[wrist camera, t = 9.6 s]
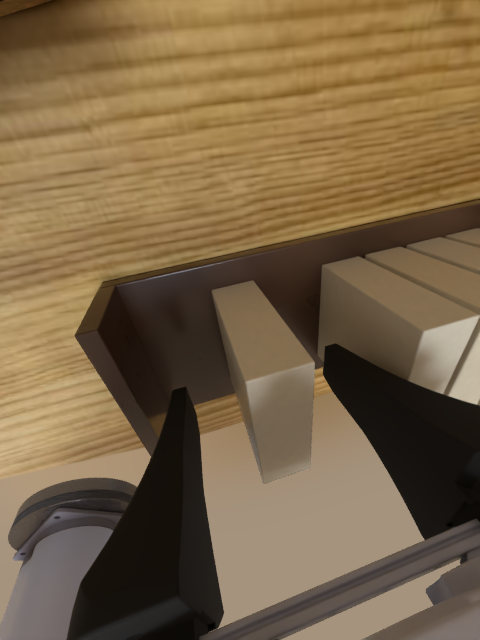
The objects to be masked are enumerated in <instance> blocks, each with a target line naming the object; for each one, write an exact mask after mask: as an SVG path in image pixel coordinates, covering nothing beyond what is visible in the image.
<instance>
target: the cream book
mask: <svg viewBox="0 0 480 640" xmlns="http://www.w3.org/2000/svg"><path fill="white" fill-rule="evenodd" d="M212 296H213V300H214V305H215V309H216V314H217V318H218V323H219V327H220V332H221V336H222V341H223V345H224V350H225V354H226V359H227V363H228V368H229V372H230V377H231V381H232V384H233V387H234V390H235V394H236V397H237V400H238V403H239V407H240V410H241V413H242V416H243V420H244V423H245V426H246V429H247V432H248V435H249V439H250V442H251V445H252V449H253V452H254V455H255V458H256V461H257V465H258V468H259V471H260V475H261V478H262V481H263V483H264V484H266V483H269V482H272V481H275V480H277V479H280V478H283V477H286V476H289V475H292V474H294V473H297V472H300V471H303V470H306V469H308V468H310V465H311V442H312V441H311V440H312V419H313V396H314V372H315V362H314V360H313V359H312V358H311V356H310V355H309V354H308V352H307V351H306V350H305V348H304V347H303V346H302V344H301V343H300V342H299V340H298V339H297V338H296V337H295V335H294V334H293V333H292V331H291V330H290V329H289V327H288V326H287V325H286V323H285V322H284V321H283V319H282V318H281V317H280V315H279V314H278V313H277V311H276V310H275V309H274V307H273V306H272V305H271V303H270V302H269V301H268V299H267V298H266V297H265V295H264V294H263V293H262V291H261V290H260V289H259V287H258V286H257V285H256V283H255V282H254V281H253V280H252V281H248V282H243V283H239V284H235V285H231V286H227V287H222V288H218V289H214V290H212Z"/></svg>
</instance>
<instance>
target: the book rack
mask: <svg viewBox="0 0 480 640" xmlns="http://www.w3.org/2000/svg"><path fill="white" fill-rule="evenodd" d="M475 228H480V200H475V201H471V202H466V203H462V204H457V205H453V206H448V207H444V208H439V209H434V210H430V211H425V212H421V213H416V214H412V215H407V216H403V217H398V218H394V219H389V220H385V221H380V222H375V223H371V224H366V225H362V226H357V227H353V228H348V229H344V230H339V231H335V232H330V233H326V234H321V235H317V236H312V237H307V238H303V239H298V240H294V241H289V242H285V243H280V244H276V245H271V246H267V247H262V248H258V249H253V250H248V251H244V252H239V253H235V254H230V255H226V256H221V257H217V258H212V259H208V260H203V261H199V262H194V263H190V264H185V265H180V266H176V267H171V268H167V269H162V270H158V271H153V272H149V273H144V274H140V275H135V276H131V277H126V278H121V279H117V280H112V281H108V282H103V283H102V284H101V286H100V288H99V289H98V291H97V293H96V295H95V297H94V299H93V301H92V303H91V305H90V307H89V309H88V311H87V312H86V314H85V316H84V318H83V320H82V322H81V324H80V326H79V328H78V330H77V332H76V334H75V338H76V339H77V341H78V342H79V344H80V345H81V347H82V349H83V350H84V352H85V353H86V355H87V356H88V358H89V360H90V361H91V363H92V364H93V366H94V367H95V369H96V371H97V372H98V374H99V375H100V377H101V378H102V380H103V382H104V383H105V385H106V386H107V388H108V389H109V391H110V393H111V394H112V396H113V397H114V399H115V401H116V402H117V404H118V405H119V407H120V408H121V410H122V412H123V413H124V415H125V416H126V418H127V419H128V421H129V423H130V424H131V426H132V427H133V429H134V430H135V432H136V434H137V435H138V437H139V438H140V440H141V441H142V443H143V445H144V446H145V448H146V449H147V451H148V452H149V454H150V456H151V457H152V455H153V452H154V449H155V447H156V444H157V441H158V439H159V436H160V433H161V430H162V427H163V424H164V421H165V418H166V414H167V411H168V407H169V403H170V398H171V393H172V391H173V390H175V389H178V388H182V387H185V386H186V387H187V390H188V393H189V395H190V398H191V401H192V403H193V406H194V405H197V404H200V403H204V402H207V401H211V400H214V399H217V398H221V397H224V396H227V395H231V394H234V393H235V390H234V387H233V384H232V381H231V377H230V372H229V368H228V363H227V359H226V354H225V350H224V345H223V341H222V336H221V332H220V327H219V323H218V318H217V314H216V309H215V305H214V300H213V296H212V290H214V289H218V288H222V287H227V286H231V285H235V284H239V283H243V282H248V281H252V280H253V281H254V282H255V283H256V285H257V286H258V287H259V289H260V290H261V291H262V293H263V294H264V295H265V297H266V298H267V299H268V301H269V302H270V303H271V305H272V306H273V307H274V309H275V310H276V311H277V313H278V314H279V315H280V317H281V318H282V319H283V321H284V322H285V323H286V325H287V326H288V327H289V329H290V330H291V331H292V333H293V334H294V335H295V337H296V338H297V339H298V340H299V342H300V343H301V344H302V346H303V347H304V348H305V350H306V351H307V352H308V354H309V355H310V356H311V358H312V359H313V360H314V362H315V369H318V368H321V367H324V362H323V361H322V360H321V359H320V357H319V356H318V336H319V315H320V295H321V275H322V265H324V264H328V263H333V262H337V261H341V260H345V259H349V258H354V257H358V256H359V257H361V258H363V259H365V255H366V254H370V253H375V252H379V251H383V250H387V249H391V248H396V247H403V248H406V246H407V245H408V244H413V243H417V242H421V241H425V240H429V239H434V238H438V237H441V238H445V236H446V235H450V234H454V233H458V232H463V231H467V230H471V229H475Z"/></svg>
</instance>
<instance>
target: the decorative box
mask: <svg viewBox="0 0 480 640" xmlns="http://www.w3.org/2000/svg"><path fill="white" fill-rule="evenodd" d="M48 1H52V0H0V17H1V16H4V15H7V14H10V13H14V12H17V11H20V10H23V9H26V8H29V7H33V6H36V5H39V4H42V3H45V2H48Z"/></svg>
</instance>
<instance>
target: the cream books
mask: <svg viewBox="0 0 480 640" xmlns="http://www.w3.org/2000/svg"><path fill="white" fill-rule="evenodd" d="M335 343H336V344H338V345H340V346H342V347H344V348H345V349H347V350H349V351H351V352H353V353H354V354H356V355H358V356H360V357H361V358H363V359H365V360H367V361H369V362H371V363H372V364H374V365H376V366H378V367H380V368H382V369H384V370H386V371H388V372H390V373H392V374H394V375H396V376H399V377H401V378H403V379H405V380H407V381H410V382H412V383H415V384H417V385H420V386H422V387H424V388H427V389H430V390H432V391H435V392H438V393H441V394H444V395H447V396H450V397H453V398H456V399H459V400H462V401H466V402H469V403H472V404H476V405H480V228H475V229H471V230H467V231H463V232H458V233H454V234H450V235H446V236H445V238H441V237H438V238H434V239H429V240H425V241H421V242H417V243H413V244H408V245H407V246H406V248H403V247H396V248H391V249H387V250H383V251H379V252H375V253H370V254H366V255H365V259H363V258H361V257H359V256H358V257H354V258H349V259H345V260H341V261H337V262H333V263H328V264H324V265H322V275H321V295H320V315H319V336H318V356H319V357H320V359H321V360H322V361H323V362H324V352H325V346H328V345H331V344H335Z"/></svg>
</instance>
